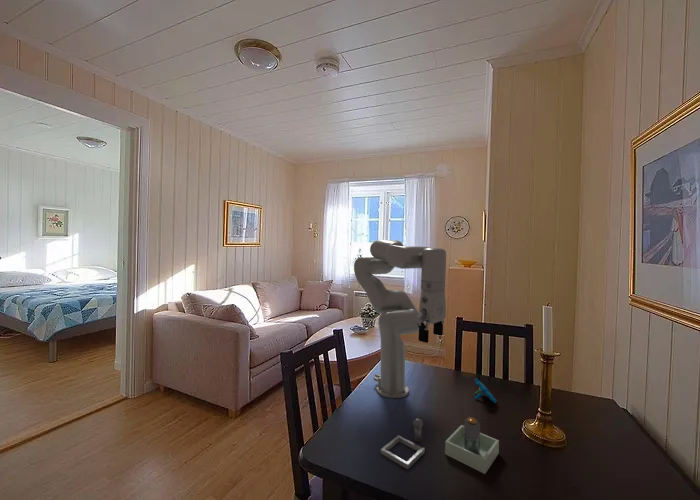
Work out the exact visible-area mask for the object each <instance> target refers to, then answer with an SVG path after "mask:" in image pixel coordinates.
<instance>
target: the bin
mask: <svg viewBox="0 0 700 500" xmlns="http://www.w3.org/2000/svg"><path fill="white" fill-rule="evenodd" d="M444 442H445V446H444V448H445V449H444V455H446V456H448V457H449V458H452V459H454V460H456V461H458V462H459V463H462V464H464V465H466V466H468V467H469V468H472V469H474V470H475V471H478V472H480V473H482V474H484V475H486V473H487V472H488V470H489V469H490V467H491V466H492V464H493V462H494V461H495V460H496V458H497V457H498V455H499V453H500V451H499V449H500V446H499V445H500V440H499V439H496V438H494V437H491V436H489V435H487V434H485V433H482V432H480V455H477V454H475V453H473V452H471V451H468V450H466V449H464V424H461V425H460V426H458V427H457V429H456V430H455V431H453V433H452V434H451V435H450V436H449V437H448V438H447V439H446V440H445V441H444Z"/></svg>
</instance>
